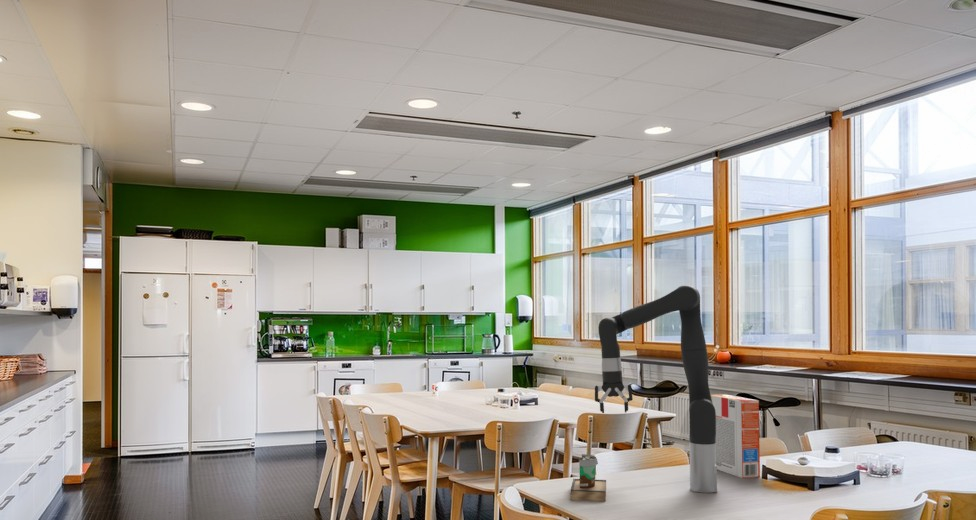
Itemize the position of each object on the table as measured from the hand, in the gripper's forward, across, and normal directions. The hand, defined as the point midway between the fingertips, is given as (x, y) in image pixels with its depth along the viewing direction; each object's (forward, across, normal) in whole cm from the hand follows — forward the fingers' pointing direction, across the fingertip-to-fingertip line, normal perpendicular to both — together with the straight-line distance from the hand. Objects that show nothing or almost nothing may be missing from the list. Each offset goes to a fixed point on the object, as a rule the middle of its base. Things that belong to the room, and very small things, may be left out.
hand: (614, 412), depth 297 cm
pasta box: (+29, +46, +31) cm, 63 cm away
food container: (+24, -10, -20) cm, 32 cm away
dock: (+26, -10, -20) cm, 35 cm away
